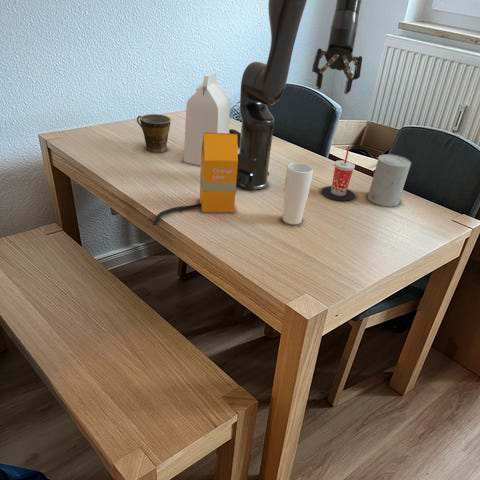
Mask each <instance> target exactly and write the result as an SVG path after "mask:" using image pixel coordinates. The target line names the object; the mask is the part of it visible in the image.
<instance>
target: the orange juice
mask: <svg viewBox="0 0 480 480" xmlns="http://www.w3.org/2000/svg"><path fill="white" fill-rule="evenodd" d="M238 148H239V146H238V141H237V134H231V133H204V136H203V143H202V149H201V165H200V173H199V174H200V175H199V180H200V181H199V203H201V207H200V209H201V213H234V212H235V202H236V201H235V200H236V192H237V185H236V179H237V167H238V154H239V149H238Z"/></svg>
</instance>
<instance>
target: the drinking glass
mask: <svg viewBox="0 0 480 480" xmlns="http://www.w3.org/2000/svg"><path fill="white" fill-rule="evenodd" d="M313 178H314V167H313V166H312V165H310V164H308V163H305V162H291V163H289V164H288V165H287V169H286V174H285V180H284V195H283V211H282V216H281V217H282V221H283V222H284V223H285V224H288V225H293V226H294V225H299V224H301V223H302V221H303V216H304V212H305V209H306V205H307V201H308V198H309V194H310V190H311V187H312V182H313Z"/></svg>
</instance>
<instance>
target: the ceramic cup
mask: <svg viewBox="0 0 480 480" xmlns="http://www.w3.org/2000/svg"><path fill="white" fill-rule="evenodd" d="M171 120H172V119H171V118H170V117H169V116H167V115H164V114H160V113H159V114H158V113H149V114H143V115H138V116H137V117H136V122H137V124H138V125H139V127H140V128H141V130H142V134H143V137H144V142H145V148H146V151H149V152H151V153H163V152H165V151H167V145H168V139H169V134H170V128H171Z"/></svg>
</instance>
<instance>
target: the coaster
mask: <svg viewBox="0 0 480 480" xmlns="http://www.w3.org/2000/svg"><path fill="white" fill-rule="evenodd" d="M331 188H332V185H330V186H325V187H322V189H321V194H322V195H323V196H324V197H325V198H327V199H329V200H332V201H336V202H349V201H353V199H354V198H355V194H354V192H353V191H352V190H350V189H348V188H347V191H346V195H344V196H338V195H334V194H332V193H331Z"/></svg>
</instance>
